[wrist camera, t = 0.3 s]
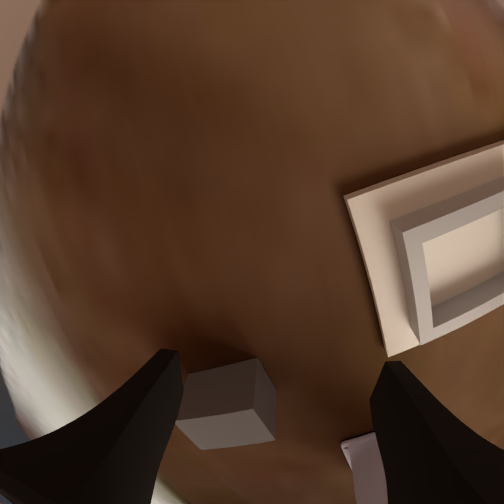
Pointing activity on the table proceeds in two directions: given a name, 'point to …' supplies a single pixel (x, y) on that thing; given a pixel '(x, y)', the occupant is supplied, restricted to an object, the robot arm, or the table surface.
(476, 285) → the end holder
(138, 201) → the table surface
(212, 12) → the table surface
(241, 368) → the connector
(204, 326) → the table surface
